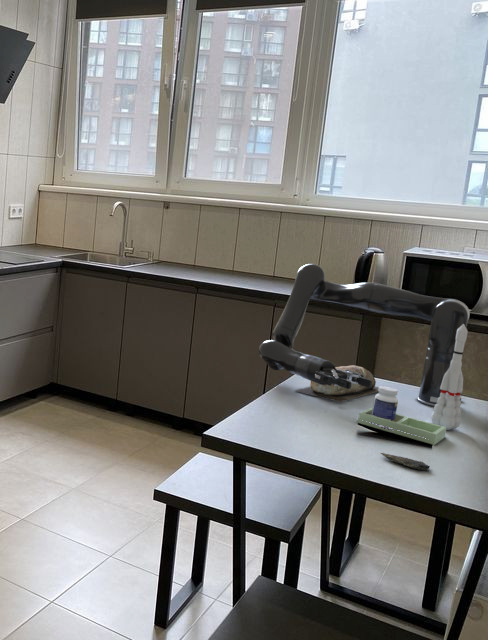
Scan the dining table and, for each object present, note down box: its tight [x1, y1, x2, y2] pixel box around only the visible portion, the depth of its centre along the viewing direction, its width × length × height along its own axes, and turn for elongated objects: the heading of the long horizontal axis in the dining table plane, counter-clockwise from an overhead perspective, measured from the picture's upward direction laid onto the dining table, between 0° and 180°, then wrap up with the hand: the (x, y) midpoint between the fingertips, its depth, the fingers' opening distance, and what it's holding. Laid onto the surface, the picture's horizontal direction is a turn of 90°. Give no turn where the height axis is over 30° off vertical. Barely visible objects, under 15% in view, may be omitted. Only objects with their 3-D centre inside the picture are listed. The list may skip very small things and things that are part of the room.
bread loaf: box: [297, 364, 379, 403], centre depth 239 cm, size 35×18×9 cm, turn 136°
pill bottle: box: [372, 385, 399, 421], centre depth 206 cm, size 6×6×10 cm
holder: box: [357, 406, 447, 446], centre depth 203 cm, size 10×19×3 cm, turn 45°
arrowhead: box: [380, 452, 431, 471], centre depth 176 cm, size 7×10×1 cm
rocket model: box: [430, 324, 469, 431], centre depth 207 cm, size 7×7×30 cm
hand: (360, 384), depth 213 cm, fingers open, 8 cm apart
